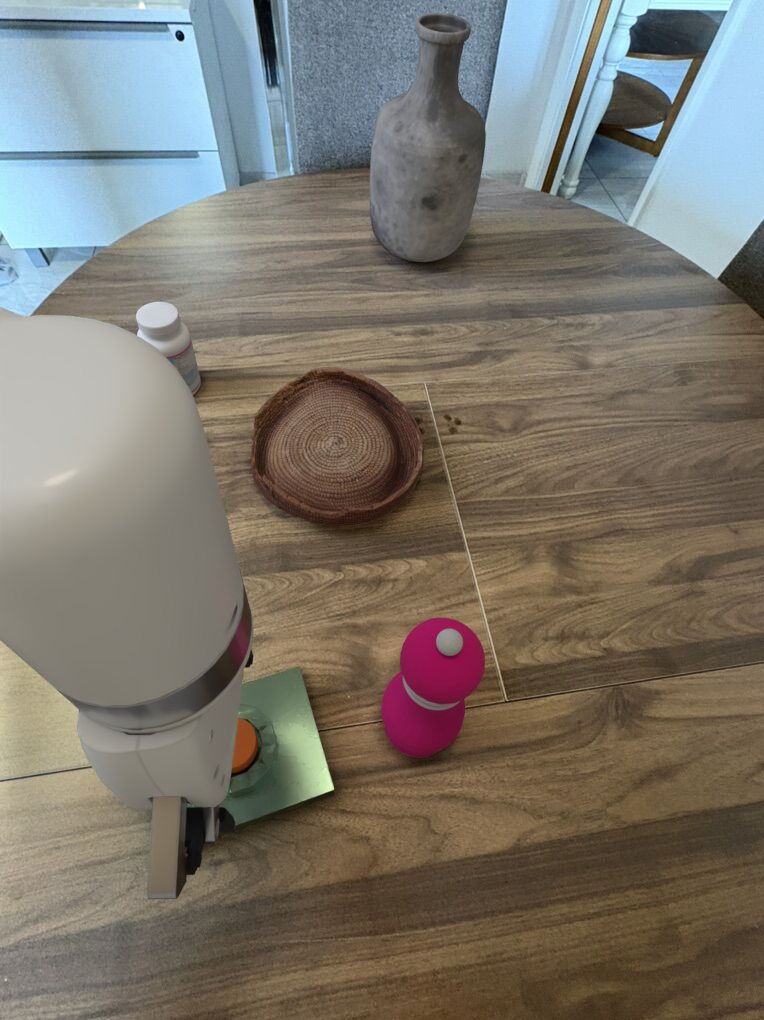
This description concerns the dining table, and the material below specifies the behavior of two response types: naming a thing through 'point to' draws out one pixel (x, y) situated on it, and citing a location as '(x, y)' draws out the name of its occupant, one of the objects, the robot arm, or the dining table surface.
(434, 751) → the pepper mill
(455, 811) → the dining table surface
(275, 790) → the green button base
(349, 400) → the basket
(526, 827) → the dining table surface
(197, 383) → the pill bottle
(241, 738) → the button
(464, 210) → the vase
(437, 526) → the dining table surface
